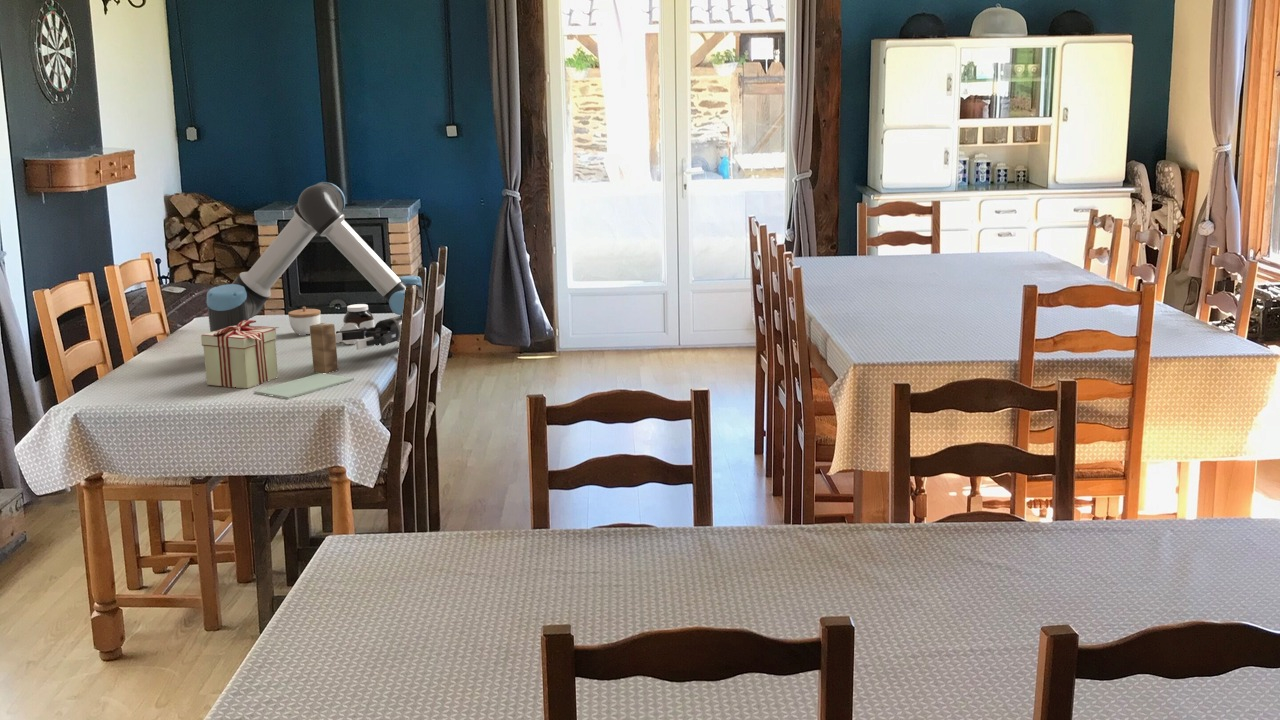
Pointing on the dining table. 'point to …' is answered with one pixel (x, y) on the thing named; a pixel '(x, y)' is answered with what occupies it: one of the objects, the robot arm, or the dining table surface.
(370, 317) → the spread jar
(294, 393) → the mat
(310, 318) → the lidded jar
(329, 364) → the walnut block
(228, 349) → the gift box
